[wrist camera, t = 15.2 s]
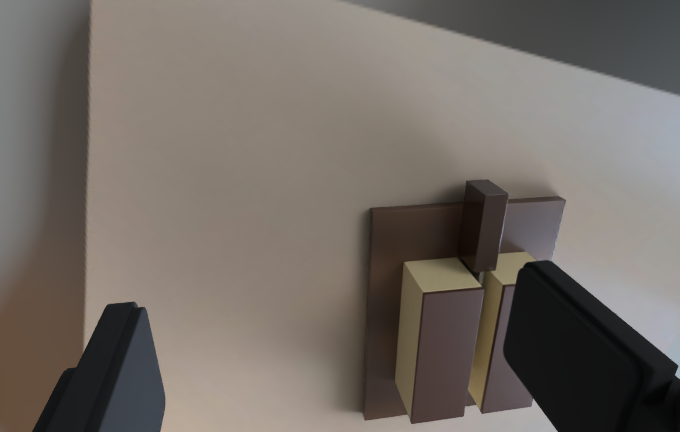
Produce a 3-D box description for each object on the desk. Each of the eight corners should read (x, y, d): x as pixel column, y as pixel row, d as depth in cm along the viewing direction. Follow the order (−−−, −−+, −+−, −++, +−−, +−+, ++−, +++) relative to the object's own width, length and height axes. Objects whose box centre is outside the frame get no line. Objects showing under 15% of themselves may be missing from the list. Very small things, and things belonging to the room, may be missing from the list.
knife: (466, 180, 38) (485, 195, 35) (488, 179, 38) (509, 193, 35) (447, 324, 44) (462, 348, 41) (466, 322, 44) (483, 346, 41)
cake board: (370, 207, 38) (373, 212, 37) (559, 196, 41) (566, 200, 40) (362, 413, 48) (364, 420, 47) (516, 392, 51) (520, 398, 50)
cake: (403, 261, 40) (424, 295, 35) (526, 251, 42) (561, 281, 37) (394, 381, 46) (411, 424, 41) (502, 367, 48) (531, 406, 43)
